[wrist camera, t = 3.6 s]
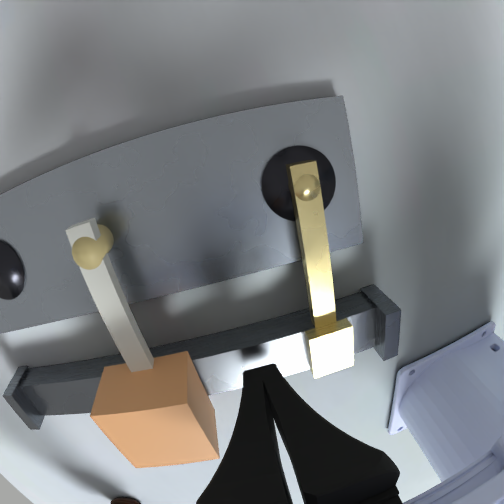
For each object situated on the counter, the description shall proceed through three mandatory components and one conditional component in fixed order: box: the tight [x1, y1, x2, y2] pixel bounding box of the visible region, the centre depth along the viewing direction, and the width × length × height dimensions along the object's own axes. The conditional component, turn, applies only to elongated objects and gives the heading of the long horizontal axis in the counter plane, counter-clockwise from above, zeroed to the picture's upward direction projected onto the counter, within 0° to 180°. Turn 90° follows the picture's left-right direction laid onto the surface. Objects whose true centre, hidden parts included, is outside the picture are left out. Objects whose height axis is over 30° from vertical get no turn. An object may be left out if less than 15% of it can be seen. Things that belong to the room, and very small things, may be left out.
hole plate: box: [0, 96, 363, 334], centre depth 12 cm, size 19×6×1 cm, turn 102°
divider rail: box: [3, 160, 401, 430], centre depth 12 cm, size 21×10×3 cm, turn 102°
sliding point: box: [65, 218, 220, 468], centre depth 11 cm, size 4×10×4 cm, turn 12°
